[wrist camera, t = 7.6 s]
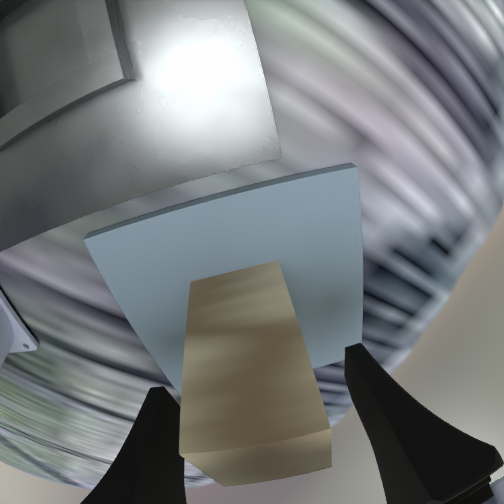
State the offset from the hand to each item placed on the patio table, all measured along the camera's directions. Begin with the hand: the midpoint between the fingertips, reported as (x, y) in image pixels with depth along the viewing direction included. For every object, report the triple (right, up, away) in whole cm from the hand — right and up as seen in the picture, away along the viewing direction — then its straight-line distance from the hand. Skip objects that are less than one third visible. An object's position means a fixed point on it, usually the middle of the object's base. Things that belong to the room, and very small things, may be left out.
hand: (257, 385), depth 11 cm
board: (-1, +2, +4) cm, 5 cm away
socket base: (-9, +14, -3) cm, 17 cm away
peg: (-1, +3, +3) cm, 4 cm away
